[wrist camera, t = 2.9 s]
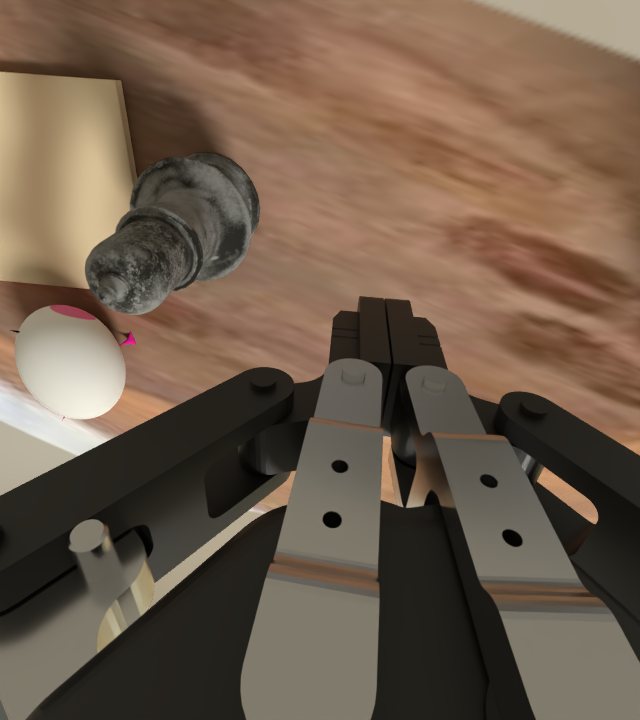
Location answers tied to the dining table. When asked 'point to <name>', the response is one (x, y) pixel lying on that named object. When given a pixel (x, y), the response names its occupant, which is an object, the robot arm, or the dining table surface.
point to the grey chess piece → (175, 232)
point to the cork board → (60, 174)
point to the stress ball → (70, 361)
